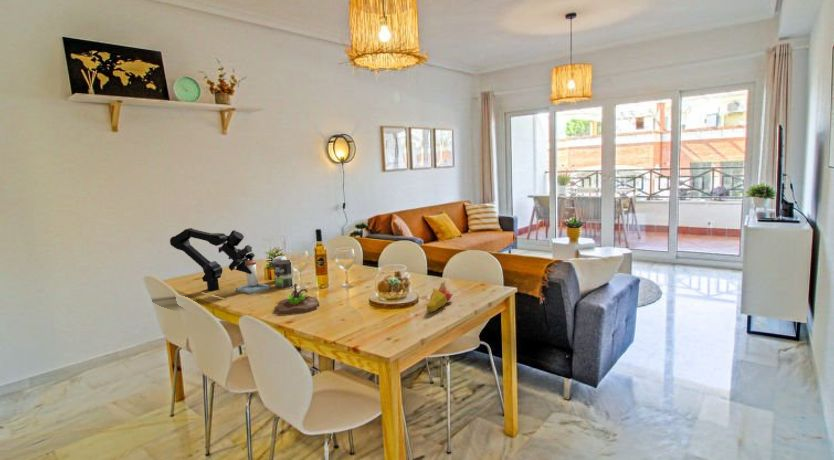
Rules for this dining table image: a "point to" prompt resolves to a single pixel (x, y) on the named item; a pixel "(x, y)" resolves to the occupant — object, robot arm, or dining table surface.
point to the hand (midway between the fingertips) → (253, 272)
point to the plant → (297, 303)
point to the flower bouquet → (439, 297)
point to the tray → (253, 288)
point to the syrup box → (279, 258)
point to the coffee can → (283, 274)
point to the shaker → (253, 276)
